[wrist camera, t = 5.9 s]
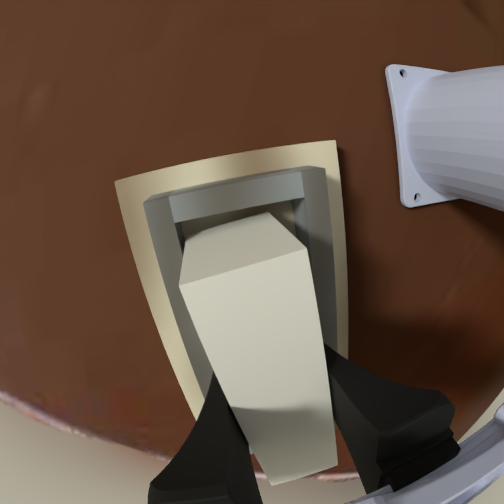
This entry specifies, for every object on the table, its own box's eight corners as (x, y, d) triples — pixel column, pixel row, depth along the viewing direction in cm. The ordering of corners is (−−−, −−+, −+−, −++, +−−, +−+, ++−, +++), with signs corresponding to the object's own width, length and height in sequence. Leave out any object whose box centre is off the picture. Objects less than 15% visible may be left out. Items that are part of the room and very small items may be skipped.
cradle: (326, 140, 14) (355, 139, 11) (340, 403, 20) (355, 431, 17) (120, 179, 13) (100, 186, 10) (208, 435, 19) (211, 468, 16)
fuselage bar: (267, 211, 13) (306, 248, 8) (310, 402, 17) (337, 464, 12) (186, 235, 13) (178, 285, 8) (255, 419, 17) (271, 485, 12)
